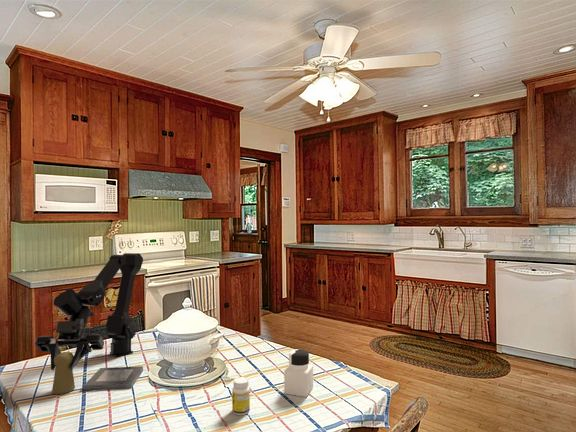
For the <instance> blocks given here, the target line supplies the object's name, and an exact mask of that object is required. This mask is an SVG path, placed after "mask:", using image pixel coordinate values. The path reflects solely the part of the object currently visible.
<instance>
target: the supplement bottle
mask: <svg viewBox="0 0 576 432" xmlns="http://www.w3.org/2000/svg"><path fill="white" fill-rule="evenodd" d="M249 384H250V383H249V379H248V378H247V377H243V376H242V377H241V376H240V377H237V378H235V379H233V387H232V388H231V389H232V390H231V392H232V395H231V396H232V397H231V399H232V401H231V403H232V405H231V406H232V407H231V408H232V409H231V411H232V413H233V414H234V415H237V416H245V415H247V414H249V413H250V411H251V406H250V405H251V404H250V403H251V402H250V401H251V394H250V393H251V387H250V386H249Z"/></svg>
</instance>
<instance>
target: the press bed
mask: <svg viewBox="0 0 576 432" xmlns="http://www.w3.org/2000/svg"><path fill="white" fill-rule="evenodd" d="M143 372H144V366H143V365H142V366H141V365H140V366H139V365H138V366H121V367H120V366H119V367H118V366H117V367H115V366H114V367H100V368H99V369H98V370H97V371H96V372H95V373H94V374H93V375H92V376H91V377H90V379H89V380H87V381H86V382H85V384H83V391H84V392H85V391H100V390H101V391H103V390H104V391H105V390H122V389H124V390H125V389H132V388H133V387H134V385H135V384H136V383H137V380H138V379H139V378H140V376H141V374H142V373H143Z"/></svg>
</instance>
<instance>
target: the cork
mask: <svg viewBox="0 0 576 432" xmlns="http://www.w3.org/2000/svg"><path fill="white" fill-rule="evenodd" d="M73 357H74V353H73V352H71V351H63V352H61V353H59V354H57V355H56V356H55V357H54V364H55V365H56V367H55V369H54V375H53V376H54V377H53V383H52V388H51V394H54V395H62V394H67V393H70V392H72V391H74V390H75V389H76V384H75V377H74V372H73V371H74V369H72V370H71V369H70V366H71V362H72V359H73Z"/></svg>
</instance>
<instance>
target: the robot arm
mask: <svg viewBox="0 0 576 432" xmlns="http://www.w3.org/2000/svg"><path fill="white" fill-rule="evenodd" d="M143 257H144V256H142V254H141V253H136V252H135V253H132V252H124V253H123V254H112V255H110V257H109V260H108V261H107V263H106V264H105V265H104V267H103V268H102V269H101V271H99V273H98V275H97V276H96V277H95V279H93V280H92V281H91V282H89V283H87V284H86V285H84V286H83V287H82V288H81V289H80V291H78V293H76V291H75V290H74V288H66V290H65V291H63V292H61V293H60V294H58V295H57V296H55V297H54V299H53V305H54V307H56V308H57V309H58V310H59V311H60V312H61V313H62V314H64V315H65V316H69V317H68V320H64V321H62V320H61V321H60V320H59V321H57V324H56V328H55V333H56V334H58V337H59V338H61V339H57V338H54V337H53V336H52V335H40V336H37V337H36V338H35V342H34V345H35V346H36V348H38V350H39V352H41V353H49V354H50V369H51V371H55V369H56V365H55V364H54V357H55V356H56V355H57V354H59V353H62V352H61V350H60V348H61V347H67V346H68V347H69V346H74V347H75V346H76V348H75V352H74V353H73V356H74V357H73V359H72V362H71V366H70V369H71V370H74V368H75V367H76V366H77V365H78V364H79V362H80V361H81V360H82V359H83V358H84V357H85V356H87V354H89V353H92V350H93V351H96V350H97V351H100V350H104V345H105V340H104V339H103V337H102V335H101V334H100V333H88V334H87V335H86V337H85V338H83V337H84V335H85V333H87V328H86V327H87V325H88V321H89V319H90V317H94V316H95V314H94V312H93V311H92V308H90V307H97V306H100V305H101V304H102V303H103V300H104V299H105V296H106V294H107V291H106V290H107V288H108V286H109V285H110V284H111V282H112V280H113V279H114V277H116V275H117V274H118V272H119V270H120V272H121V273H120V274H121V277H120V282H119V287H118V293H117V298H116V304H115V309H114V311H113V312H112V314H109V315H108V316H107V321H106V324H105V331H106V334H107V338H108V339H111V342H110V351H109V354H110V355H112V356H114V357H116V358H118V357H123V356H126V355H130V354H131V355H132V354H133V353H134V351H133V350H132V339H134V338H135V337H136V332H137V331H136V330H135V328H134V327H133V326H132V319H131V315H130V313H129V310H130V306H131V305H130V304H131V300H132V295H133V289H134V283H135V280H136V279H135V277H136V275H137V274H138V273H139V272H140V271H141V269H142V266H143V262H144V258H143Z"/></svg>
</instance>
